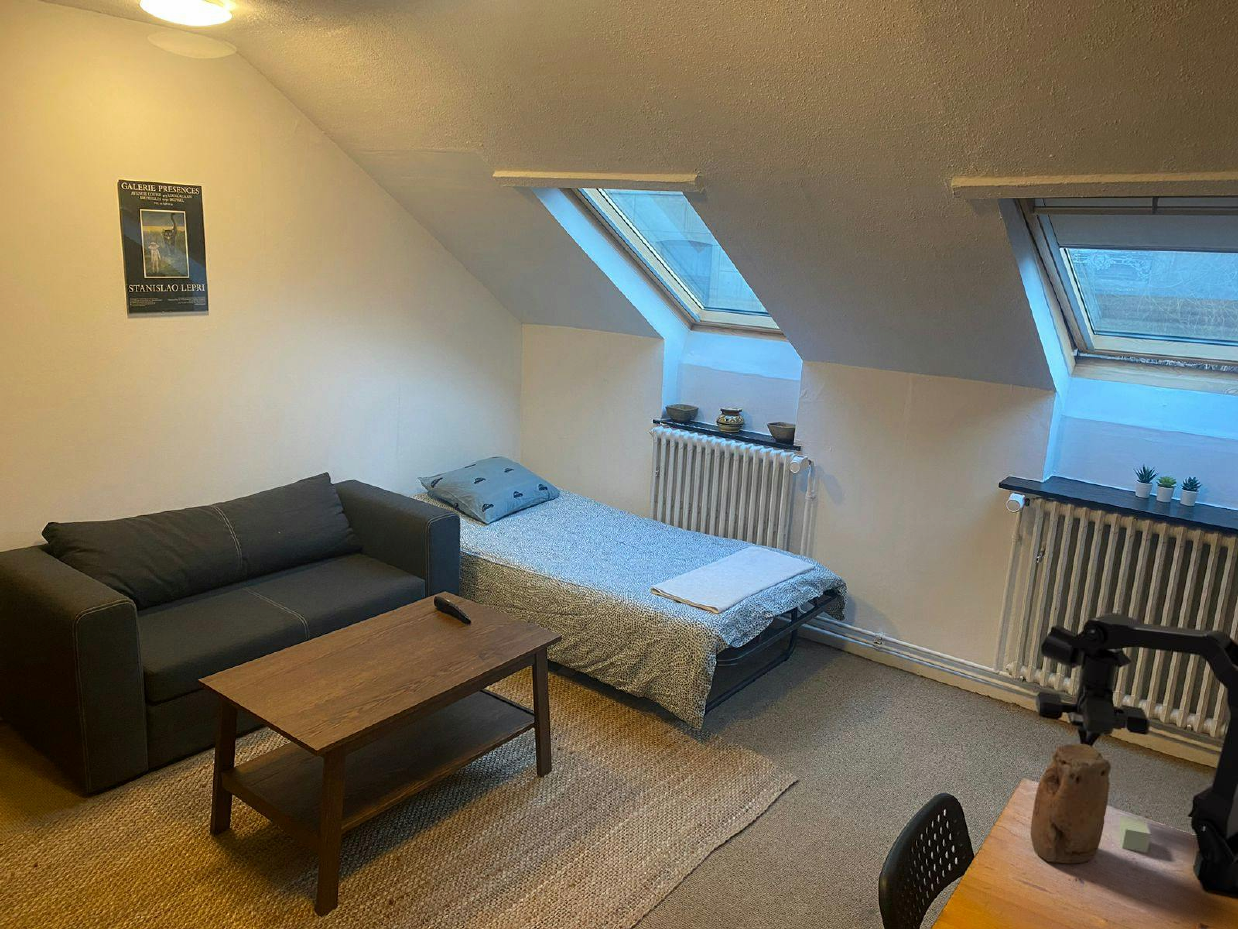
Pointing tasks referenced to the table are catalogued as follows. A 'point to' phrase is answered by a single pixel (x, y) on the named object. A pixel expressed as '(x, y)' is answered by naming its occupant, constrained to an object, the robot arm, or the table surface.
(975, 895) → the table surface
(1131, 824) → the sage cube
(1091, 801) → the brown stone
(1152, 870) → the table surface
